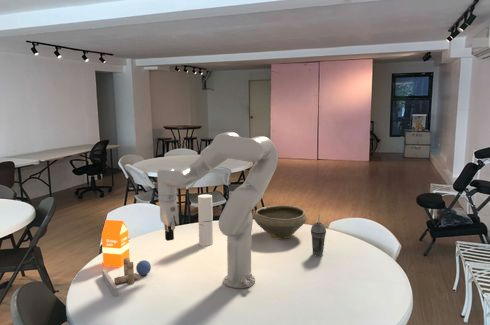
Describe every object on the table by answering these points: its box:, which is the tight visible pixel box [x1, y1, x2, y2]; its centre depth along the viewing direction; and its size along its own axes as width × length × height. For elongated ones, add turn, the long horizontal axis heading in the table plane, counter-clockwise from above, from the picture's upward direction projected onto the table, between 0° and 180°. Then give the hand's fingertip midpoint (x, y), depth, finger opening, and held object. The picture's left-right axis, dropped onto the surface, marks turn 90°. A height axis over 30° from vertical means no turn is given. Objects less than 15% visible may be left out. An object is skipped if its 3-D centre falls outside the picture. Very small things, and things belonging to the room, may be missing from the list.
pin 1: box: [123, 258, 131, 276], centre depth 160 cm, size 2×2×8 cm
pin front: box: [113, 272, 138, 285], centre depth 158 cm, size 2×2×8 cm
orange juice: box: [101, 219, 130, 268], centre depth 175 cm, size 8×9×20 cm
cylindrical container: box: [197, 193, 214, 247], centre depth 198 cm, size 7×7×25 cm
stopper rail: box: [101, 268, 119, 297], centre depth 154 cm, size 20×1×3 cm, turn 32°
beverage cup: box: [310, 213, 327, 257], centre depth 183 cm, size 7×7×20 cm
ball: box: [135, 259, 152, 276], centre depth 164 cm, size 6×6×6 cm
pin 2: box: [127, 261, 135, 285], centre depth 156 cm, size 2×2×8 cm
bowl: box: [253, 204, 307, 240], centre depth 210 cm, size 28×28×14 cm
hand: (169, 239), depth 165 cm, fingers closed
